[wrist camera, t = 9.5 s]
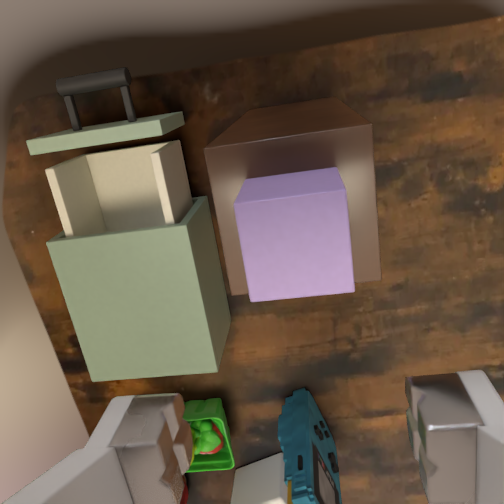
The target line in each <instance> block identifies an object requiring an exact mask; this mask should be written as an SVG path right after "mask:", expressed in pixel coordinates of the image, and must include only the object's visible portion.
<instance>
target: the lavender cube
mask: <svg viewBox="0 0 504 504" xmlns="http://www.w3.org/2000/svg"><path fill="white" fill-rule="evenodd" d="M234 211H235V217H236V223H237V228H238V234H239V240H240V245H241V251H242V257H243V262H244V268H245V274H246V280H247V285H248V291H249V297H250V301H251V302H258V301H269V300H279V299H289V298H299V297H310V296H320V295H330V294H340V293H350V292H354V291H355V285H354V273H353V261H352V249H351V238H350V226H349V214H348V203H347V191H346V188H345V186H344V183H343V181H342V178H341V176H340V173H339V171H338V169H337V167H332V168H325V169H317V170H310V171H303V172H295V173H288V174H280V175H273V176H266V177H258V178H251V179H246V180H245V181H244V183H243V185H242V187H241V189H240V192H239V194H238V196H237V198H236V200H235V202H234Z"/></svg>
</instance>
